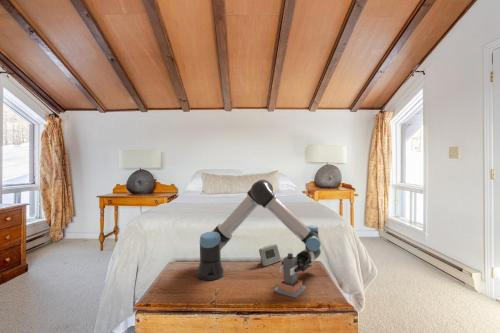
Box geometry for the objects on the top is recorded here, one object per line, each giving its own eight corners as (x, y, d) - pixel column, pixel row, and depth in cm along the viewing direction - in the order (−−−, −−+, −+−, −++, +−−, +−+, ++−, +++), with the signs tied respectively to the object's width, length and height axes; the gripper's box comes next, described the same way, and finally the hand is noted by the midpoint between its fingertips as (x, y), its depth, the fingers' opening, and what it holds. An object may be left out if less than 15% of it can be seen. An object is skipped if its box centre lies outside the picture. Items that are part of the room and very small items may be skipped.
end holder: (273, 291, 137) (273, 283, 137) (285, 282, 146) (285, 275, 146) (295, 297, 130) (295, 289, 130) (306, 288, 140) (306, 280, 139)
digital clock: (263, 267, 168) (263, 250, 168) (255, 263, 176) (255, 246, 175) (284, 262, 176) (284, 246, 176) (275, 258, 184) (275, 242, 184)
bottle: (283, 282, 137) (283, 254, 137) (288, 278, 141) (287, 251, 141) (292, 284, 135) (292, 256, 134) (297, 281, 139) (296, 253, 138)
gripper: (320, 267, 147) (302, 283, 128) (290, 261, 158) (269, 274, 139) (320, 253, 147) (302, 267, 128) (290, 248, 158) (269, 260, 139)
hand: (285, 271), depth 134 cm, fingers closed on bottle, 5 cm apart
